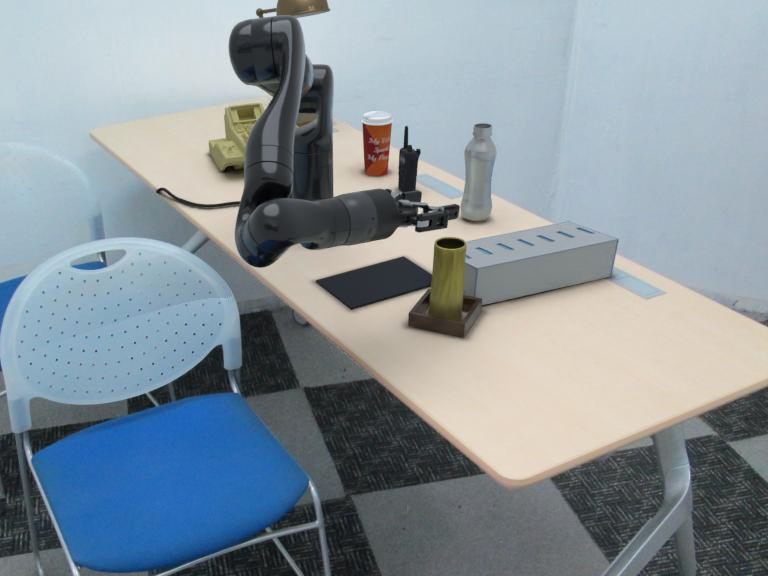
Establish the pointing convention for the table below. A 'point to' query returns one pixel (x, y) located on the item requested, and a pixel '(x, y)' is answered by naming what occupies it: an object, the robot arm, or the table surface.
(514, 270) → the warehouse
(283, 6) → the lamp
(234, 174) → the table surface
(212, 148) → the control panel
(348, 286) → the mat
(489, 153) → the plastic bottle
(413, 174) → the two-way radio
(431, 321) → the holder
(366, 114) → the paper cup
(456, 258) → the vase
